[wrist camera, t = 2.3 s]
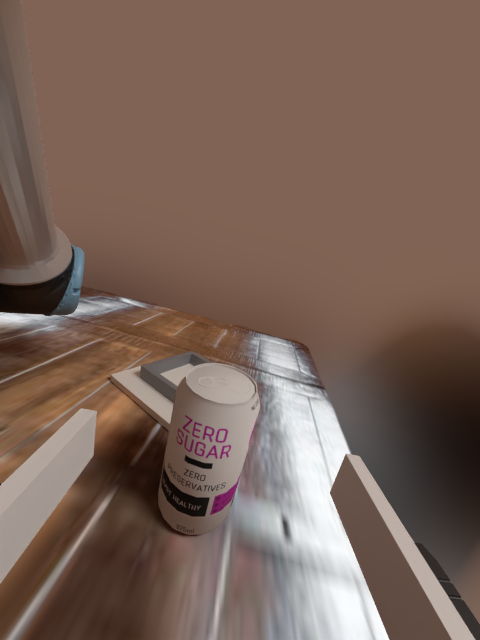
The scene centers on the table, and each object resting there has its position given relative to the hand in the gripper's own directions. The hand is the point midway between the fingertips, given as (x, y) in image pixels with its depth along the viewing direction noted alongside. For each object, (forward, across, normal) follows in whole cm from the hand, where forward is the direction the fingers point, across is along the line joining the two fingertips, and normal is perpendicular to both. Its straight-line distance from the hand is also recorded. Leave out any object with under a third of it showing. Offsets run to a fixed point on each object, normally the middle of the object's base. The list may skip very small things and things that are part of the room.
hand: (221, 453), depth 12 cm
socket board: (+31, -5, -16) cm, 35 cm away
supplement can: (+10, 0, -17) cm, 20 cm away
